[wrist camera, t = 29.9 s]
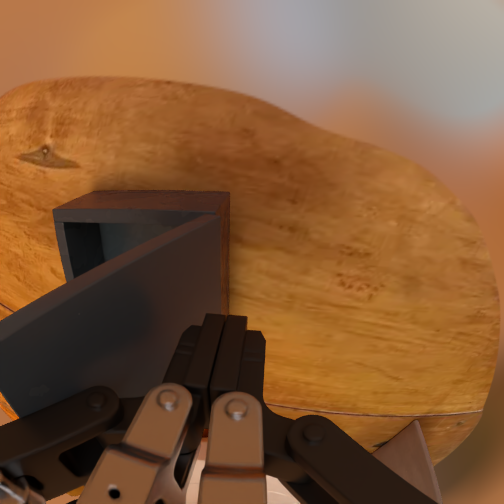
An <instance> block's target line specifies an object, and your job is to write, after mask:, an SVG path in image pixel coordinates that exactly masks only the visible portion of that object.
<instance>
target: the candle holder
mask: <svg viewBox="0 0 504 504" xmlns="http://www.w3.org/2000/svg"><path fill="white" fill-rule="evenodd" d="M207 441H208V438H202V439H201V449H200V452H199V455H198V458H197V461H196V464H195V467H194V470H193V473H192V477H191V480H190V483H189V486H188V489H187V493H186V504H197V502H198V492H199V483H200V476H201V472H202V469H204V466H205V460H206V450H207ZM266 481H267V504H300V502H299V501H298V500H297V499H296V498H295V497H294V496H293V495H292V494H291V493H290V492H289V491H288V490H287V489H286V488H285V487H284V486H283V485H282V484H281V483H280V481H279V480H278V479H277V478H274V477H271V476H268V475H266Z"/></svg>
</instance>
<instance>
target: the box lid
mask: <svg viewBox="0 0 504 504" xmlns="http://www.w3.org/2000/svg"><path fill="white" fill-rule="evenodd" d="M206 313H213V314H221V216H217V215H211V214H205V215H203V216H200V217H198V218H196V219H194V220H191V221H189V222H187V223H185V224H183V225H181V226H178V227H176V228H174V229H172V230H170V231H168V232H166V233H163V234H161V235H159V236H157V237H155V238H153V239H151V240H149V241H147V242H145V243H143V244H141V245H139V246H137V247H135V248H133V249H130V250H128V251H126V252H124V253H122V254H120V255H118V256H117V257H115V258H113V259H111V260H109V261H107V262H105V263H103V264H101V265H99V266H97V267H95V268H93V269H91V270H89V271H88V272H86V273H84V274H82V275H80V276H78V277H76V278H74V279H73V280H71V281H69V282H67V283H65V284H63V285H62V286H60V287H58V288H56V289H54V290H53V291H51V292H49V293H47V294H45V295H44V296H42V297H40V298H38V299H37V300H35V301H33V302H31V303H30V304H28V305H26V306H25V307H23V308H21V309H20V310H18V311H16V312H14V313H13V314H11V315H10V316H8V317H6V318H5V319H3V320H1V321H0V392H1V393H2V395H3V396H4V398H5V399H6V401H7V402H8V403H9V405H10V406H11V408H12V409H13V410H14V412H15V413H16V414H17V416H18V417H19V418H22V417H24V416H27V415H29V414H31V413H34V412H36V411H38V410H41V409H43V408H45V407H48V406H50V405H52V404H54V403H57V402H59V401H61V400H63V399H66V398H68V397H70V396H72V395H74V394H77V393H79V392H81V391H83V390H85V389H87V388H90V387H93V386H106V387H109V388H111V389H112V390H114V391H115V392H116V394H117V395H118V397H119V398H131V397H142V396H146V394H147V393H148V391H149V390H150V389H152V388H153V387H155V386H156V385H159V384H161V383H162V381H163V378H164V376H165V374H166V371H167V369H168V366H169V364H170V361H171V359H172V357H173V354H174V353H175V349H176V347H177V345H178V342H179V340H180V337H181V335H182V333H183V332H184V331H185V330H186V329H187V328H188V327H190V326H191V325H198V326H202V323H203V321H204V318H205V315H206ZM85 485H86V484H85ZM85 485H84V486H85Z"/></svg>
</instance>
